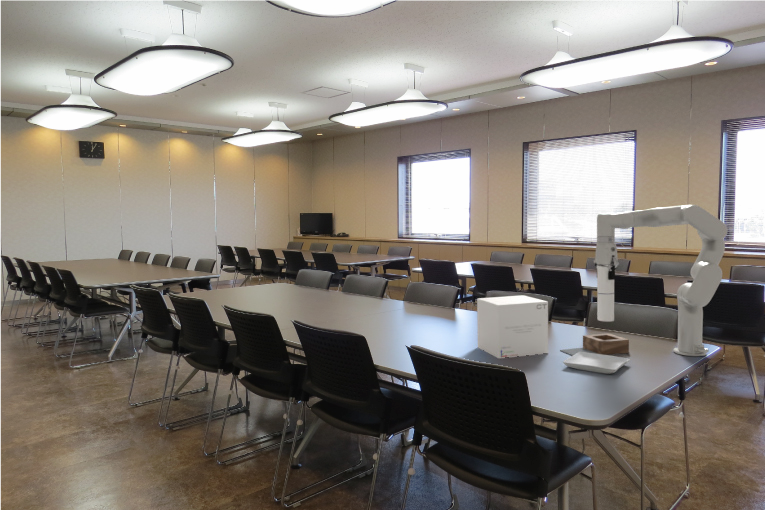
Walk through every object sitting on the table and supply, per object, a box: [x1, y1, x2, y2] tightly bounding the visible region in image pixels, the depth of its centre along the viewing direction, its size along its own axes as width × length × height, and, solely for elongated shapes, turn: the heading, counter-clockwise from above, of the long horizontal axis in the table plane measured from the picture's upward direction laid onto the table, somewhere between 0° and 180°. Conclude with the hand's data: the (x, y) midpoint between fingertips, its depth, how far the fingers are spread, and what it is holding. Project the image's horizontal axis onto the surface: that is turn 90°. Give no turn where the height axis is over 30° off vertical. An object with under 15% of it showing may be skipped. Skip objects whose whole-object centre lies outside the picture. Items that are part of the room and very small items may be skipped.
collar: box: [582, 332, 630, 356], centre depth 243 cm, size 14×14×6 cm
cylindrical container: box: [596, 265, 615, 322], centre depth 241 cm, size 7×7×25 cm
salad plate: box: [562, 352, 631, 375], centre depth 217 cm, size 21×21×3 cm
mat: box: [559, 347, 598, 357], centre depth 239 cm, size 12×12×1 cm
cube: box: [476, 294, 549, 359], centre depth 246 cm, size 25×21×24 cm
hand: (605, 278), depth 240 cm, fingers closed on cylindrical container, 7 cm apart
